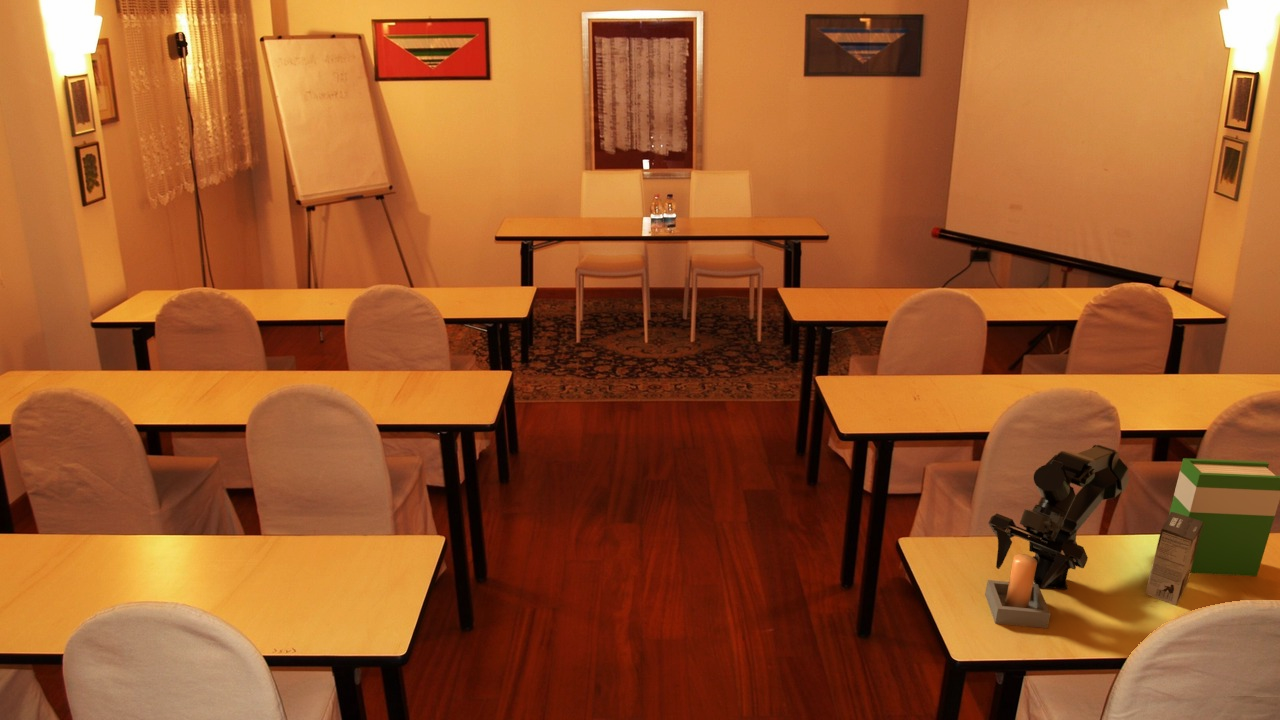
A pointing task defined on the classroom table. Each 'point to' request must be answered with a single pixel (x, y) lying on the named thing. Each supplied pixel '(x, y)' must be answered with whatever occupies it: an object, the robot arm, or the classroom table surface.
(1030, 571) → the orange cylinder
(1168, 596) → the coffee box
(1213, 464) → the hardback book
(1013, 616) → the tray
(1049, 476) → the robot arm
